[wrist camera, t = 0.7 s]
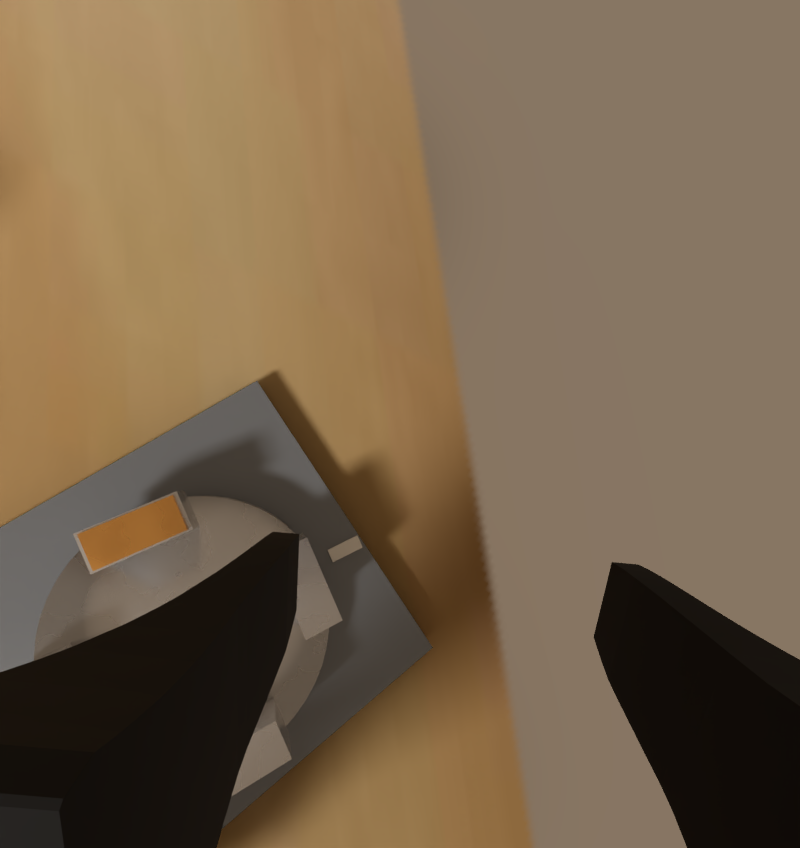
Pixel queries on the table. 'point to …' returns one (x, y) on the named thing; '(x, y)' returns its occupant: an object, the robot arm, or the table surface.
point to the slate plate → (256, 484)
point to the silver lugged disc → (175, 574)
